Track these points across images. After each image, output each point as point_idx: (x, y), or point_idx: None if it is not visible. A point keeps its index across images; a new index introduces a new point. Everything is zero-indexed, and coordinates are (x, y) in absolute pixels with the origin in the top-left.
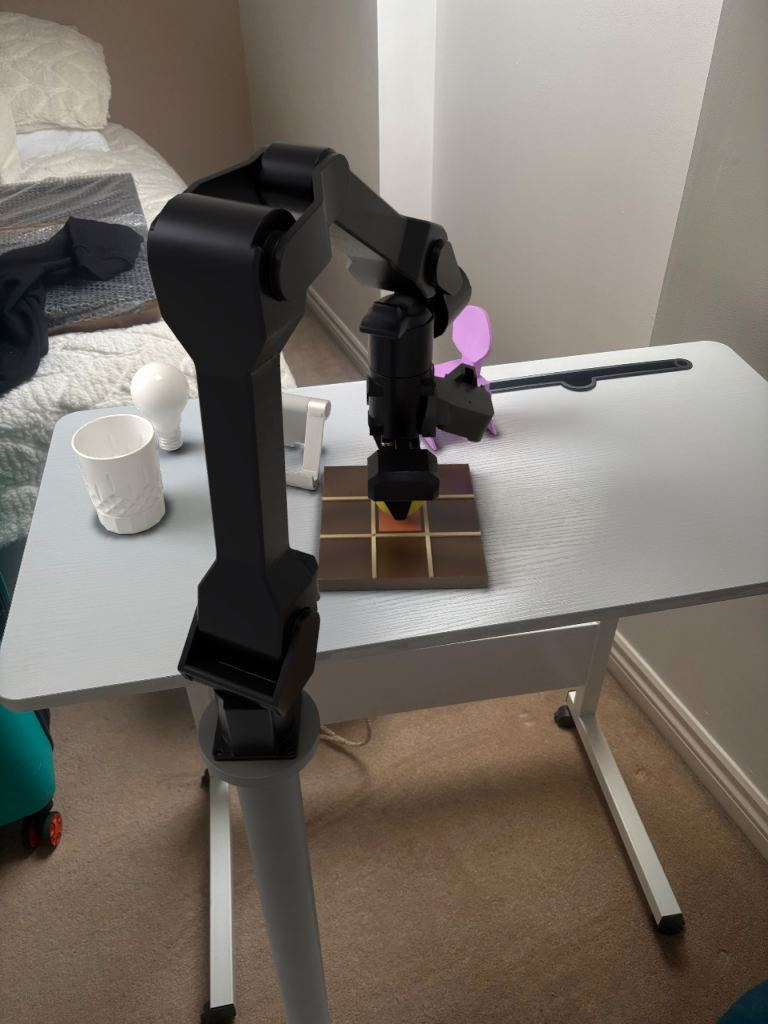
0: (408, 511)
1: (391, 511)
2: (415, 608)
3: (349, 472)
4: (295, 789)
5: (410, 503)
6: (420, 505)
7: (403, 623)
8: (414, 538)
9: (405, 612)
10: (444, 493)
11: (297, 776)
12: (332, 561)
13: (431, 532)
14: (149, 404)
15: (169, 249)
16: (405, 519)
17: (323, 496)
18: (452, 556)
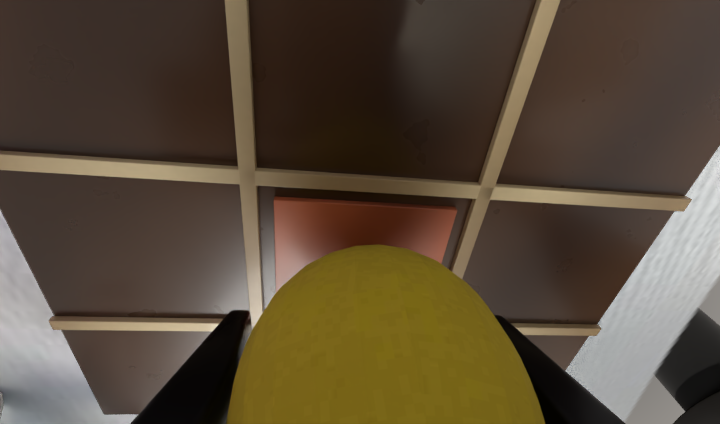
0: (550, 358)
1: None
2: (679, 222)
3: (121, 370)
4: (700, 309)
5: (612, 417)
6: (461, 279)
7: (703, 250)
8: (483, 230)
9: (675, 244)
10: (209, 75)
11: (705, 317)
12: None
13: (471, 173)
14: None
15: None
16: (499, 315)
17: None
18: (631, 115)
